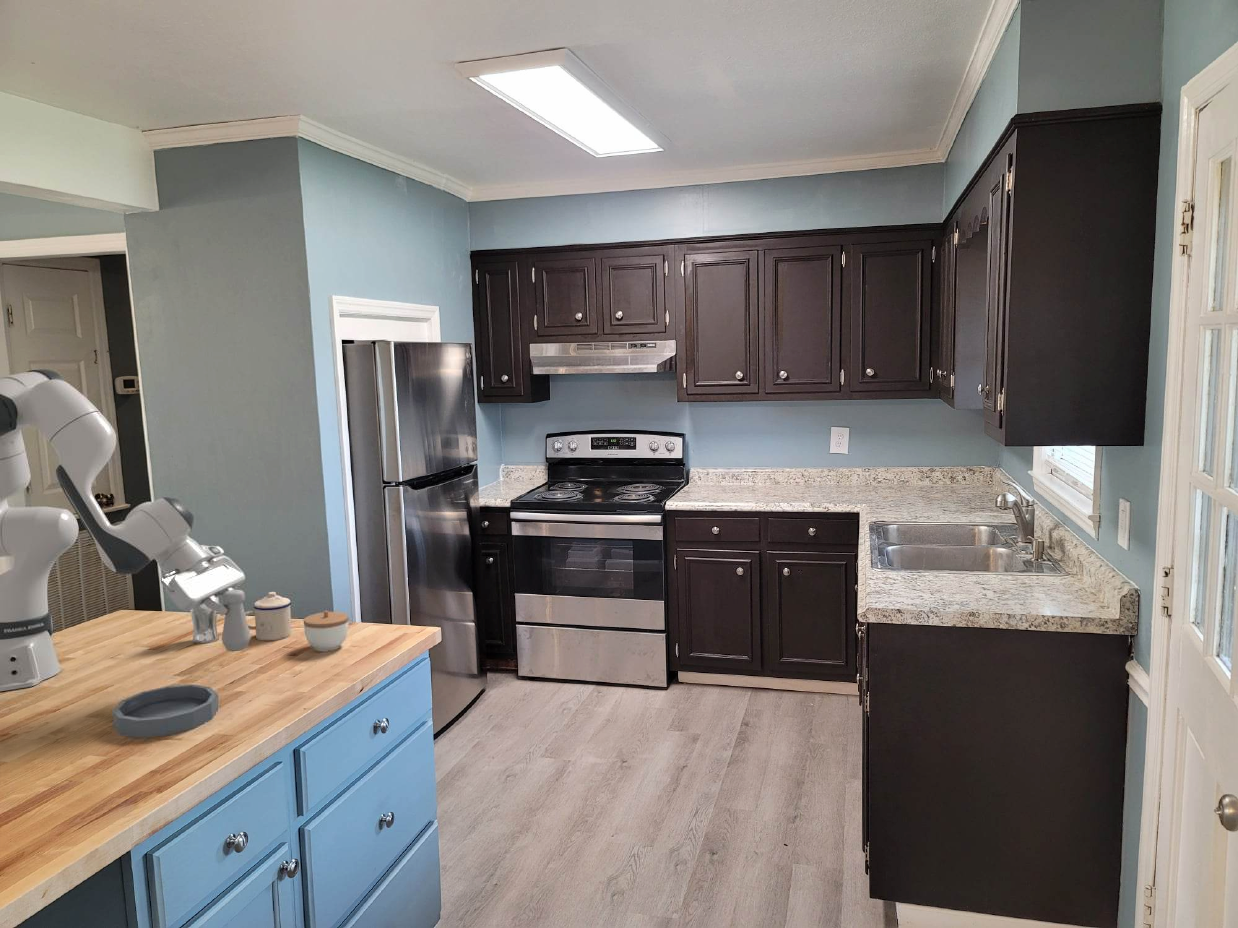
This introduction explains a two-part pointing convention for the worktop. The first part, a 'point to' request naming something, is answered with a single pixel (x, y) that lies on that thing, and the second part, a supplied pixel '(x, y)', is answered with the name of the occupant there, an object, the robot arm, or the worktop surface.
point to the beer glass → (204, 624)
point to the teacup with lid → (272, 617)
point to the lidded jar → (326, 630)
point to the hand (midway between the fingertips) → (232, 609)
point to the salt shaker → (235, 622)
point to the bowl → (165, 711)
